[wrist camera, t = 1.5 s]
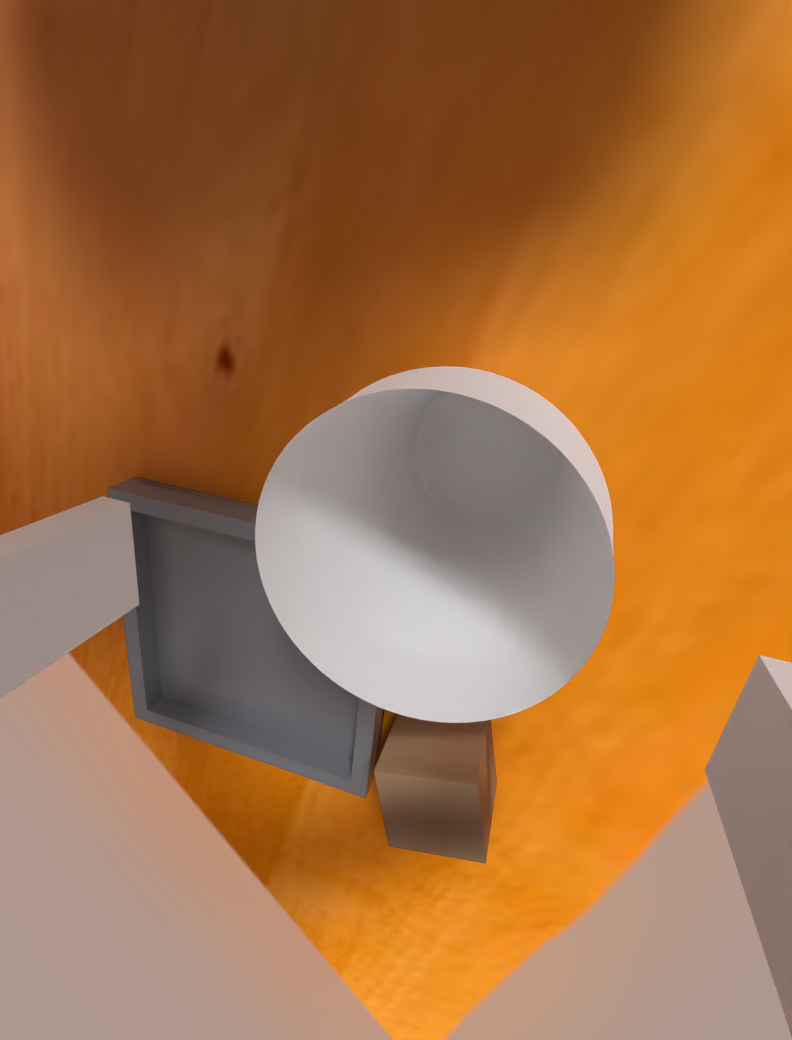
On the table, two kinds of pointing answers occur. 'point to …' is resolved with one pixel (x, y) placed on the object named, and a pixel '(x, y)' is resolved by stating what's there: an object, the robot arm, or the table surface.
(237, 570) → the tray
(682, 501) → the table surface
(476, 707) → the cup
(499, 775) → the table surface
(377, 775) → the walnut cube
